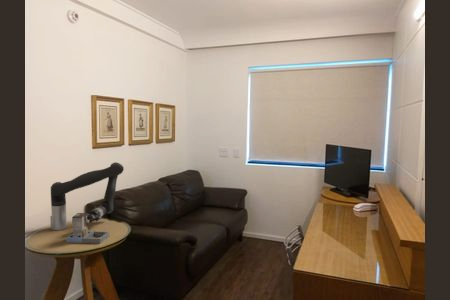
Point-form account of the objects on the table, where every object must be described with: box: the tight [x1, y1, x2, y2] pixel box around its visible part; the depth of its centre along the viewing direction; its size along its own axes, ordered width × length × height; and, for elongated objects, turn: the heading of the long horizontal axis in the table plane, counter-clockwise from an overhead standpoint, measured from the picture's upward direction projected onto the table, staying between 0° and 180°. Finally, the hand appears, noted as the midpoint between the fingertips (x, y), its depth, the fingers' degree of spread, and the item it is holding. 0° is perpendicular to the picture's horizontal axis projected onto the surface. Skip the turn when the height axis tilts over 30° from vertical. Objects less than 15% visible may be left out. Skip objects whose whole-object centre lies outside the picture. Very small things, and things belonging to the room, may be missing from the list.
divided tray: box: [66, 230, 110, 244], centre depth 198 cm, size 22×13×4 cm, turn 86°
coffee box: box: [71, 212, 89, 238], centre depth 198 cm, size 9×6×16 cm
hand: (83, 221), depth 203 cm, fingers open, 8 cm apart
